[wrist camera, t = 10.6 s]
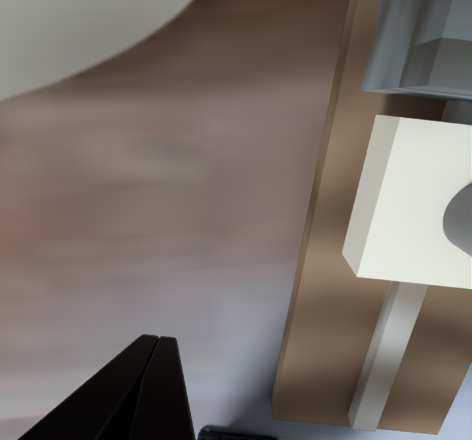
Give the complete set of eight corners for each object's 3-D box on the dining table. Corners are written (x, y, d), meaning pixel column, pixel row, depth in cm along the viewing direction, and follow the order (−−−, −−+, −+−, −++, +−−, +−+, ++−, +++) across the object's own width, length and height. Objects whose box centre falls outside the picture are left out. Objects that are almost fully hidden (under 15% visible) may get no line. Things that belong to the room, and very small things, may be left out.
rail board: (426, 415, 25) (499, 541, 18) (270, 400, 24) (281, 521, 17) (639, -75, 14) (1027, -245, 7) (370, -109, 14) (498, -318, 7)
